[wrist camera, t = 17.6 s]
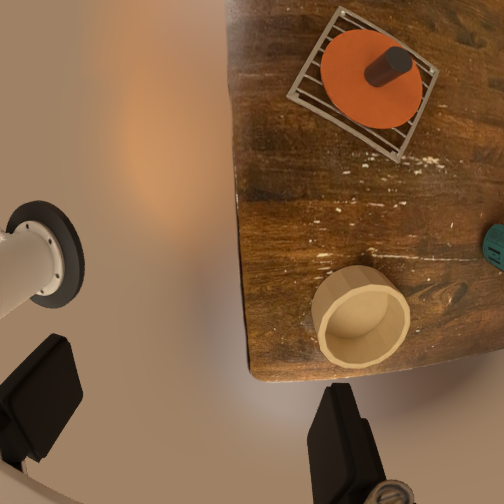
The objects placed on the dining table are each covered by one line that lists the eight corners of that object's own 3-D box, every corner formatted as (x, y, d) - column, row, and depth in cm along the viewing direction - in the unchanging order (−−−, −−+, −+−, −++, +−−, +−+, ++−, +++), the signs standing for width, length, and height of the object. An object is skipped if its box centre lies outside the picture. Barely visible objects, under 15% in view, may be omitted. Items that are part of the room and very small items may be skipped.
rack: (284, 100, 32) (285, 96, 30) (335, 12, 28) (339, 5, 26) (391, 163, 33) (398, 164, 31) (432, 74, 29) (440, 70, 27)
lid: (313, 116, 30) (329, 103, 23) (323, 22, 27) (337, -10, 19) (414, 141, 30) (451, 138, 22) (418, 50, 27) (451, 30, 19)
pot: (303, 338, 41) (309, 366, 35) (321, 259, 37) (331, 279, 31) (378, 342, 41) (392, 368, 34) (401, 270, 37) (422, 289, 31)
